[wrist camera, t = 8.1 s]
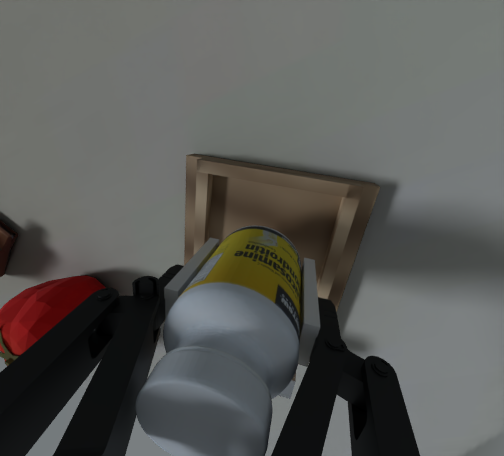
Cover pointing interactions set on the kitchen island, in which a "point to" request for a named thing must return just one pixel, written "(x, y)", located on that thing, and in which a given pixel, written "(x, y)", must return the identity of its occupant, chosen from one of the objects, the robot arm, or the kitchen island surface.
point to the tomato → (40, 312)
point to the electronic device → (5, 245)
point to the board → (280, 212)
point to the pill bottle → (227, 350)
